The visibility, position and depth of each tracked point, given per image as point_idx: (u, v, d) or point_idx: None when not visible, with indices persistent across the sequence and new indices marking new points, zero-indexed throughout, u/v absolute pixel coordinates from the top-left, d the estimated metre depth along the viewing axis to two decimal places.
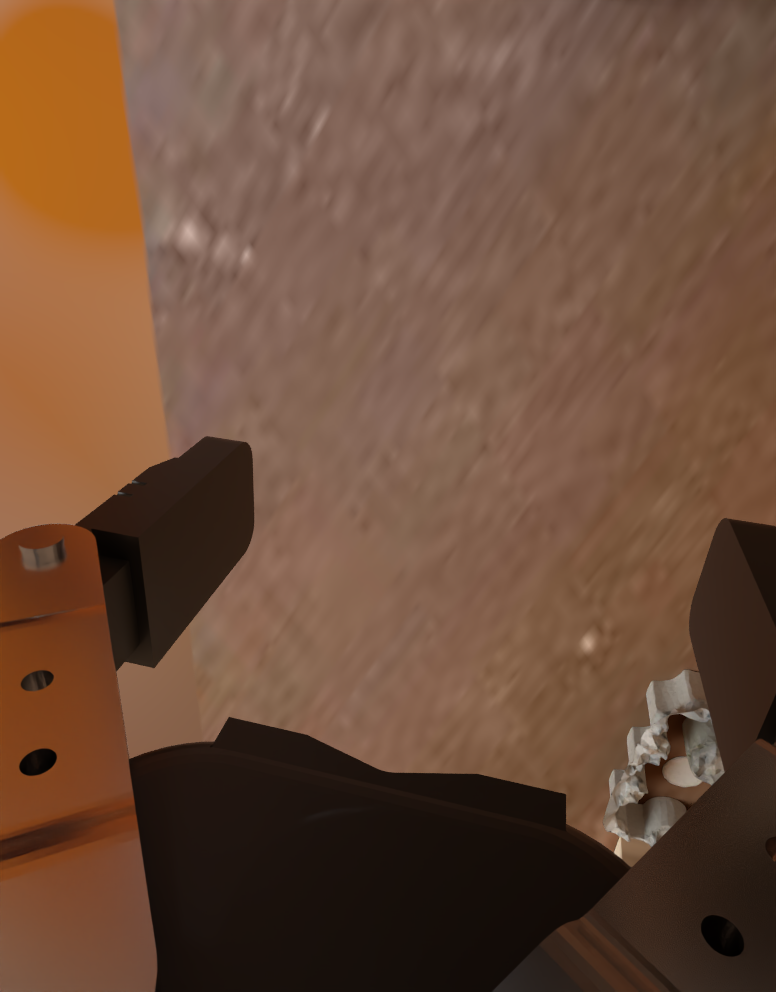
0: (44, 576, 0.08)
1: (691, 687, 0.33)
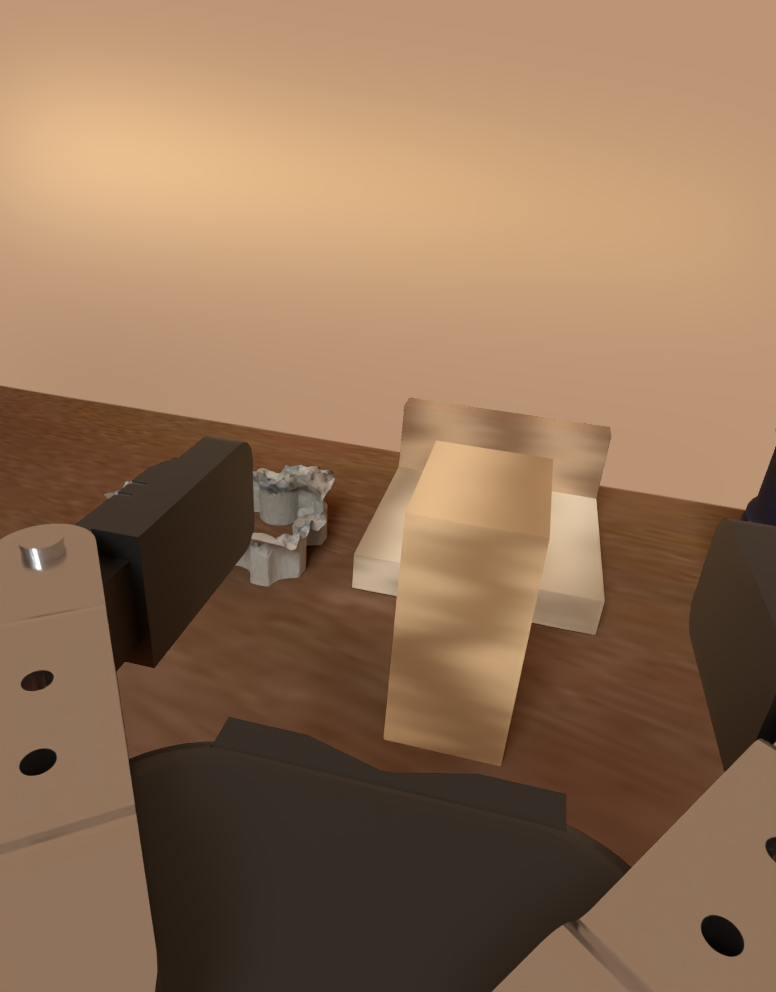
0: (44, 576, 0.08)
1: None
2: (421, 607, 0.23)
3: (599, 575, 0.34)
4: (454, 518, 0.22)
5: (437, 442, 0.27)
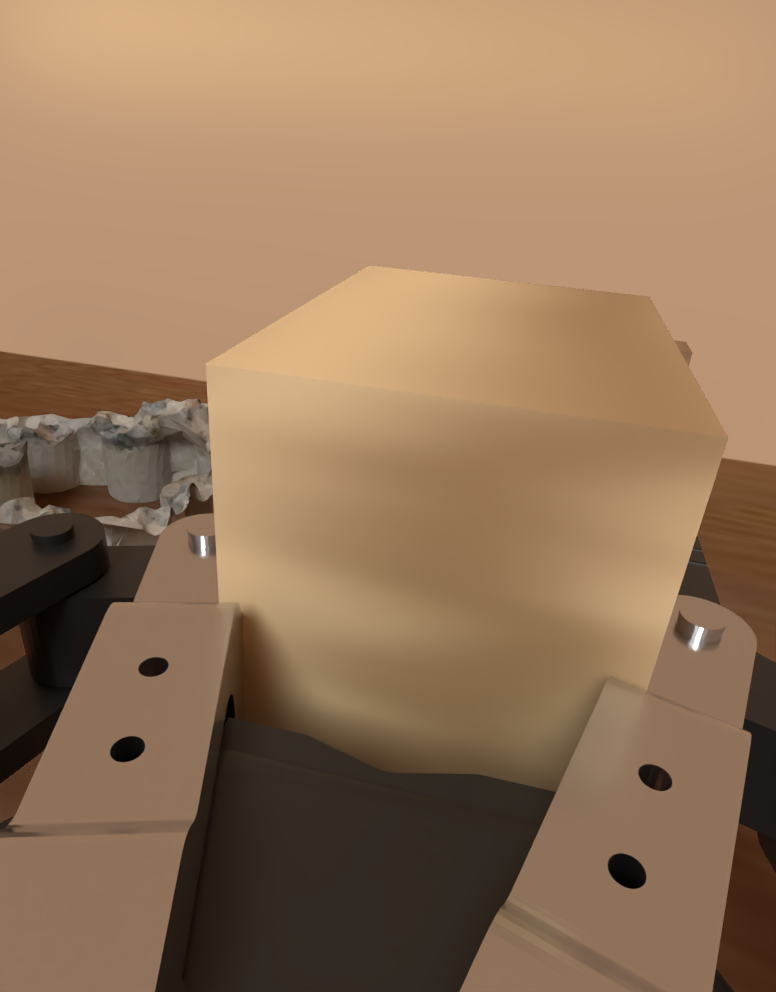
0: (201, 563, 0.08)
1: None
2: (294, 678, 0.08)
3: None
4: (376, 379, 0.06)
5: (371, 267, 0.11)
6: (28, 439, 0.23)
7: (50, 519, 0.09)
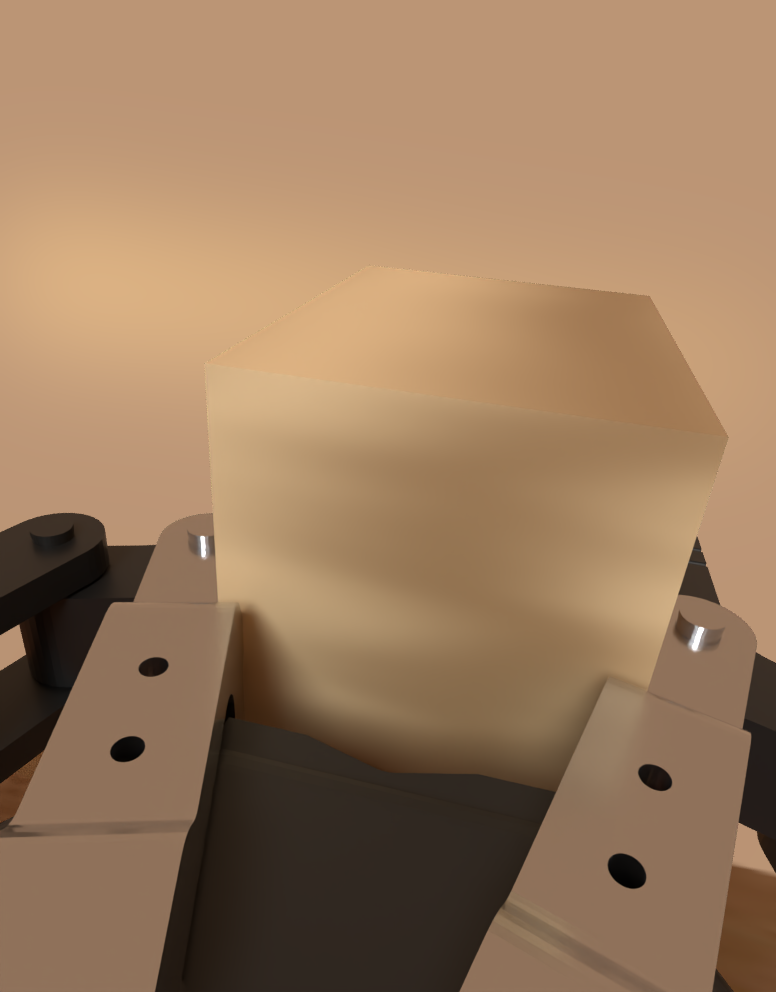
0: (201, 563, 0.08)
1: None
2: (294, 678, 0.08)
3: None
4: (374, 378, 0.06)
5: (371, 266, 0.11)
6: None
7: (51, 519, 0.09)
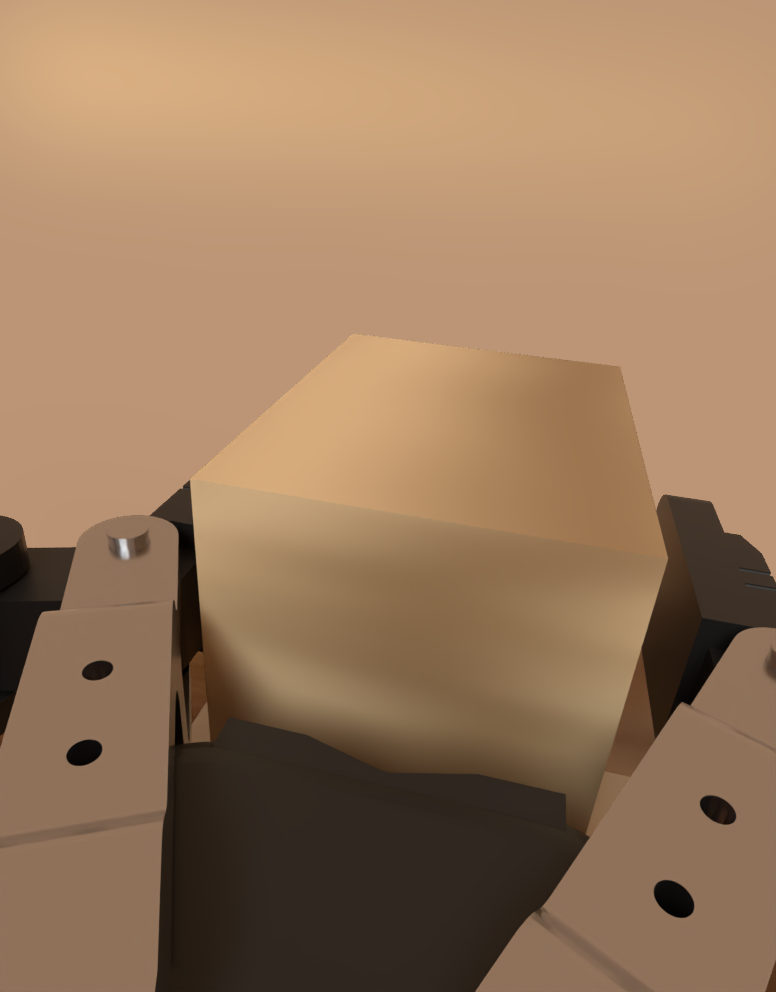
0: (127, 566, 0.08)
1: None
2: None
3: None
4: (347, 493, 0.07)
5: (354, 336, 0.12)
6: None
7: None
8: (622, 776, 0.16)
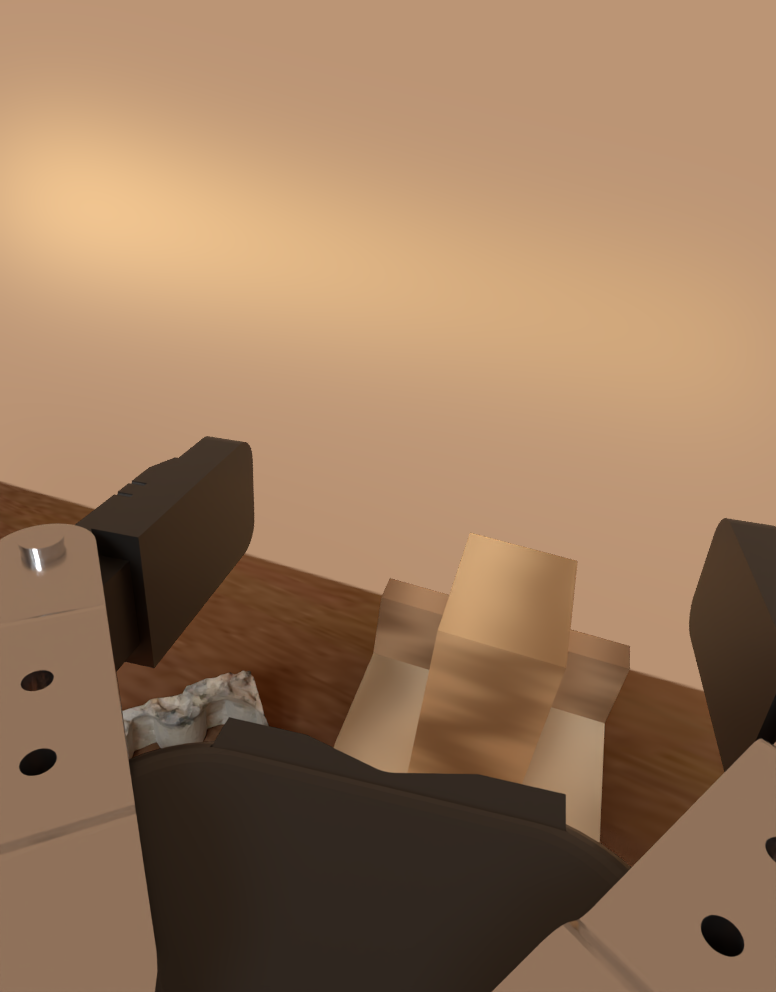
0: (45, 575, 0.08)
1: None
2: (446, 702, 0.26)
3: None
4: (481, 638, 0.24)
5: (471, 535, 0.29)
6: None
7: None
8: (570, 713, 0.34)
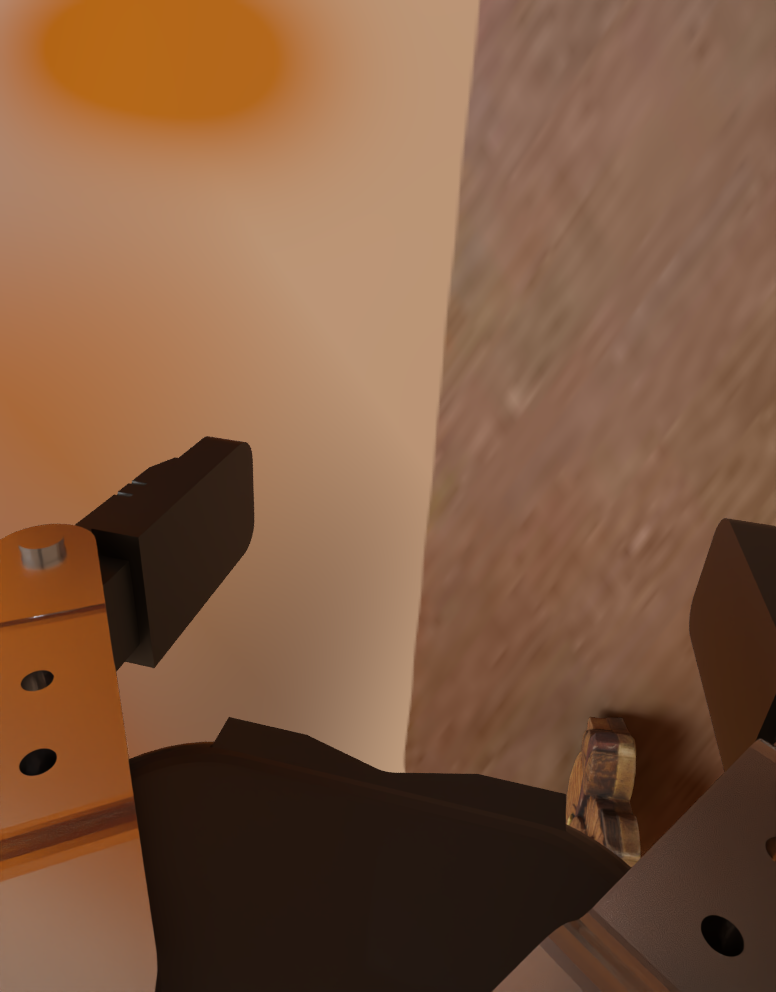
0: (44, 576, 0.08)
1: None
2: None
3: None
4: None
5: None
6: None
7: None
8: None
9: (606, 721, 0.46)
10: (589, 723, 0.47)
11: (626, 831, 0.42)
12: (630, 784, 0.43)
